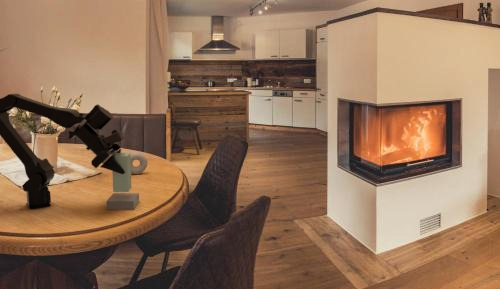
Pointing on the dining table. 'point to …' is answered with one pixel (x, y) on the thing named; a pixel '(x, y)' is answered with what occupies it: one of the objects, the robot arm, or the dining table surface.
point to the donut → (142, 163)
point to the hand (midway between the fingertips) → (125, 171)
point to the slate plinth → (122, 201)
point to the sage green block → (122, 180)
